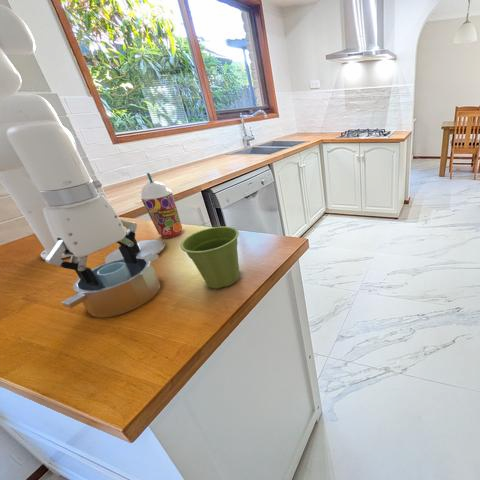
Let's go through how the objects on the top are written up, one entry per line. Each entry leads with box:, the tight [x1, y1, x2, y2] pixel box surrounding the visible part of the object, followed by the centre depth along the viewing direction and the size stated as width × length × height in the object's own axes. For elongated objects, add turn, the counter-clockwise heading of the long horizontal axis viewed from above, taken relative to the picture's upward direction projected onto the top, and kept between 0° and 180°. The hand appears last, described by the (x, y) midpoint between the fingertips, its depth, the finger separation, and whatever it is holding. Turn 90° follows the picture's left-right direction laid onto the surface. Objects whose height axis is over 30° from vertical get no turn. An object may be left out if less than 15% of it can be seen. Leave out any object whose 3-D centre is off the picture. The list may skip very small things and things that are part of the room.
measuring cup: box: [97, 262, 132, 288], centre depth 63 cm, size 5×5×7 cm
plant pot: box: [179, 226, 240, 290], centre depth 65 cm, size 12×12×11 cm
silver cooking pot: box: [61, 253, 161, 318], centre depth 63 cm, size 13×19×6 cm
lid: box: [104, 236, 166, 264], centre depth 81 cm, size 14×14×7 cm
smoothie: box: [139, 172, 183, 239], centre depth 89 cm, size 8×8×20 cm
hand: (113, 272), depth 62 cm, fingers open, 7 cm apart
